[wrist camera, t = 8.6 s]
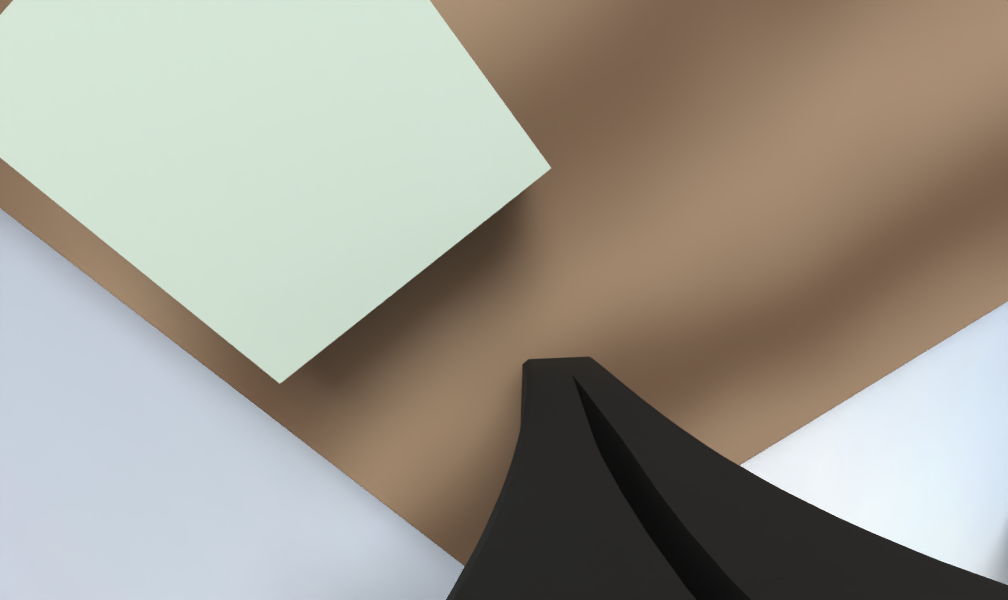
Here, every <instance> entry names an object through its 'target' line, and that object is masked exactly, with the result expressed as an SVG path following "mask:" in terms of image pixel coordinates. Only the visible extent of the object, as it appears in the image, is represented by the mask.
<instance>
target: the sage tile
mask: <svg viewBox="0 0 1008 600" xmlns="http://www.w3.org/2000/svg"><path fill="white" fill-rule="evenodd" d="M0 158H1V159H3V160H4V161H5V162H6V163H8V164H9V165H10V166H11V167H13V168H14V169H15V170H16V171H17V172H19V173H20V174H21V175H22V176H24V177H25V178H26V179H27V180H29V181H30V182H31V183H32V184H34V185H35V186H36V187H37V188H38V189H40V190H41V191H42V192H43V193H45V194H46V195H47V196H48V197H50V198H51V199H52V200H53V201H55V202H56V203H57V204H58V205H59V206H61V207H62V208H63V209H64V210H66V211H67V212H68V213H69V214H71V215H72V216H73V217H74V218H76V219H77V220H78V221H79V222H80V223H82V224H83V225H84V226H85V227H87V228H88V229H89V230H90V231H92V232H93V233H94V234H95V235H97V236H98V237H99V238H100V239H102V240H103V241H104V242H105V243H106V244H108V245H109V246H110V247H111V248H113V249H114V250H115V251H116V252H118V253H119V254H120V255H121V256H123V257H124V258H125V259H126V260H127V261H129V262H130V263H131V264H132V265H134V266H135V267H136V268H137V269H139V270H140V271H141V272H142V273H144V274H145V275H146V276H147V277H148V278H150V279H151V280H152V281H153V282H155V283H156V284H157V285H158V286H160V287H161V288H162V289H163V290H165V291H166V292H167V293H168V294H169V295H171V296H172V297H173V298H174V299H176V300H177V301H178V302H179V303H181V304H182V305H183V306H184V307H186V308H187V309H188V310H189V311H190V312H192V313H193V314H194V315H195V316H197V317H198V318H199V319H200V320H202V321H203V322H204V323H205V324H207V325H208V326H209V327H210V328H211V329H213V330H214V331H215V332H216V333H218V334H219V335H220V336H221V337H223V338H224V339H225V340H226V341H228V342H229V343H230V344H231V345H233V346H234V347H235V348H236V349H237V350H239V351H240V352H241V353H242V354H244V355H245V356H246V357H247V358H249V359H250V360H251V361H252V362H254V363H255V364H256V365H257V366H258V367H260V368H261V369H262V370H263V371H265V372H266V373H267V374H268V375H270V376H271V377H272V378H273V379H275V380H276V381H277V382H278V383H279V384H280V383H281V382H283V381H284V380H285V379H286V378H288V377H289V376H290V375H292V374H293V373H294V372H295V371H297V370H298V369H299V368H300V367H302V366H303V365H304V364H305V363H307V362H308V361H309V360H310V359H312V358H313V357H314V356H315V355H317V354H318V353H319V352H320V351H322V350H323V349H324V348H326V347H327V346H328V345H329V344H331V343H332V342H333V341H334V340H336V339H337V338H338V337H339V336H341V335H342V334H343V333H344V332H346V331H347V330H348V329H349V328H351V327H352V326H353V325H355V324H356V323H357V322H358V321H360V320H361V319H362V318H363V317H365V316H366V315H367V314H368V313H370V312H371V311H372V310H373V309H375V308H376V307H377V306H378V305H380V304H381V303H382V302H383V301H385V300H386V299H387V298H389V297H390V296H391V295H392V294H394V293H395V292H396V291H397V290H399V289H400V288H401V287H402V286H404V285H405V284H406V283H407V282H409V281H410V280H411V279H412V278H414V277H415V276H416V275H418V274H419V273H420V272H421V271H423V270H424V269H425V268H426V267H428V266H429V265H430V264H431V263H433V262H434V261H435V260H436V259H438V258H439V257H440V256H441V255H443V254H444V253H445V252H446V251H448V250H449V249H450V248H452V247H453V246H454V245H455V244H457V243H458V242H459V241H460V240H462V239H463V238H464V237H465V236H467V235H468V234H469V233H470V232H472V231H473V230H474V229H475V228H477V227H478V226H479V225H480V224H482V223H483V222H484V221H486V220H487V219H488V218H489V217H491V216H492V215H493V214H494V213H496V212H497V211H498V210H499V209H501V208H502V207H503V206H504V205H506V204H507V203H508V202H509V201H511V200H512V199H513V198H515V197H516V196H517V195H518V194H520V193H521V192H522V191H523V190H525V189H526V188H527V187H528V186H530V185H531V184H532V183H533V182H535V181H536V180H537V179H538V178H540V177H541V176H542V175H543V174H545V173H546V172H547V171H549V170H550V169H551V167H550V165H549V164H548V163H547V161H546V160H545V159H544V157H543V156H542V154H541V153H540V152H539V150H538V149H537V148H536V146H535V145H534V143H533V142H532V141H531V139H530V138H529V136H528V135H527V134H526V132H525V131H524V130H523V128H522V127H521V125H520V124H519V123H518V121H517V120H516V119H515V117H514V116H513V114H512V113H511V112H510V110H509V109H508V108H507V106H506V105H505V103H504V102H503V101H502V99H501V98H500V97H499V95H498V94H497V92H496V91H495V90H494V88H493V87H492V85H491V84H490V83H489V81H488V80H487V79H486V77H485V76H484V74H483V73H482V72H481V70H480V69H479V68H478V66H477V65H476V63H475V62H474V61H473V59H472V58H471V57H470V55H469V54H468V52H467V51H466V50H465V48H464V47H463V46H462V44H461V43H460V41H459V40H458V39H457V37H456V36H455V34H454V33H453V32H452V30H451V29H450V28H449V26H448V25H447V23H446V22H445V21H444V19H443V18H442V17H441V15H440V14H439V12H438V11H437V10H436V8H435V7H434V6H433V4H432V3H431V1H430V0H13V1H12V2H11V3H10V4H9V6H8V7H7V8H6V9H5V10H4V11H3V12H2V14H1V15H0Z"/></svg>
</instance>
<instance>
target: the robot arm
mask: <svg viewBox="0 0 1008 600" xmlns="http://www.w3.org/2000/svg"><path fill="white" fill-rule="evenodd" d="M446 600H1008V585H1005V584H1003V583H1000V582H997V581H994V580H992V579H989V578H986V577H983V576H980V575H978V574H975V573H972V572H969V571H967V570H964V569H961V568H958V567H956V566H953V565H950V564H947V563H944V562H942V561H939V560H937V559H934V558H931V557H929V556H926V555H924V554H922V553H919V552H917V551H914V550H912V549H910V548H907V547H905V546H902V545H900V544H898V543H895V542H893V541H890V540H888V539H886V538H883V537H881V536H878V535H876V534H874V533H871V532H869V531H867V530H865V529H862V528H860V527H858V526H856V525H854V524H851V523H849V522H847V521H845V520H842V519H840V518H838V517H836V516H834V515H832V514H830V513H828V512H826V511H824V510H822V509H820V508H818V507H816V506H814V505H811V504H809V503H807V502H805V501H803V500H801V499H799V498H797V497H795V496H793V495H791V494H789V493H787V492H785V491H784V490H782V489H780V488H778V487H776V486H774V485H772V484H770V483H769V482H767V481H765V480H763V479H761V478H760V477H758V476H756V475H754V474H753V473H751V472H749V471H748V470H746V469H744V468H743V467H741V466H739V465H737V464H736V463H734V462H732V461H731V460H729V459H727V458H726V457H724V456H722V455H721V454H719V453H718V452H716V451H714V450H713V449H711V448H710V447H708V446H707V445H705V444H704V443H702V442H701V441H699V440H698V439H696V438H695V437H694V436H692V435H691V434H689V433H688V432H686V431H685V430H683V429H682V428H680V427H679V426H678V425H676V424H675V423H673V422H672V421H671V420H669V419H668V418H667V417H665V416H664V415H663V414H661V413H660V412H659V411H657V410H656V409H655V408H653V407H652V406H651V405H650V404H648V403H647V402H646V401H644V400H643V399H642V398H641V397H639V396H638V395H637V394H636V393H634V392H633V391H632V390H631V389H629V388H628V387H627V386H626V385H625V384H623V383H622V382H621V381H620V380H618V379H617V378H616V377H615V376H614V375H612V374H611V373H610V372H609V371H608V370H606V369H605V368H604V367H603V366H602V365H600V364H599V363H598V362H597V361H595V360H594V359H593V358H591V357H590V356H589V357H565V358H541V359H528V360H527V361H526V362H525V363H523V364H522V394H521V424H520V433H519V437H518V440H517V444H516V448H515V452H514V455H513V459H512V462H511V465H510V468H509V471H508V474H507V476H506V479H505V482H504V484H503V487H502V490H501V492H500V495H499V497H498V500H497V502H496V504H495V507H494V509H493V511H492V513H491V516H490V518H489V520H488V523H487V525H486V527H485V529H484V531H483V533H482V535H481V537H480V539H479V541H478V543H477V545H476V547H475V549H474V551H473V553H472V554H471V556H470V558H469V560H468V562H467V563H466V565H465V567H464V569H463V571H462V573H461V574H460V576H459V578H458V580H457V582H456V583H455V585H454V587H453V589H452V591H451V592H450V594H449V596H448V597H447V599H446Z"/></svg>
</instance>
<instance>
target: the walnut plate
mask: <svg viewBox="0 0 1008 600" xmlns="http://www.w3.org/2000/svg"><path fill="white" fill-rule="evenodd" d="M12 1H13V0H0V15H1V14H2V12H3V11H4V10H5V9H6V8H7V7H8V6H9V4H10V3H11V2H12ZM430 1H431V3H432V4H433V6H434V7H435V8H436V10H437V11H438V12H439V14H440V15H441V17H442V18H443V19H444V21H445V22H446V23H447V25H448V26H449V28H450V29H451V30H452V32H453V33H454V34H455V36H456V37H457V39H458V40H459V41H460V43H461V44H462V46H463V47H464V48H465V50H466V51H467V52H468V54H469V55H470V57H471V58H472V59H473V61H474V62H475V63H476V65H477V66H478V68H479V69H480V70H481V72H482V73H483V74H484V76H485V77H486V79H487V80H488V81H489V83H490V84H491V85H492V87H493V88H494V90H495V91H496V92H497V94H498V95H499V97H500V98H501V99H502V101H503V102H504V103H505V105H506V106H507V108H508V109H509V110H510V112H511V113H512V114H513V116H514V117H515V119H516V120H517V121H518V123H519V124H520V125H521V127H522V128H523V130H524V131H525V132H526V134H527V135H528V136H529V138H530V139H531V141H532V142H533V143H534V145H535V146H536V148H537V149H538V150H539V152H540V153H541V154H542V156H543V157H544V159H545V160H546V161H547V163H548V164H549V165H550V167H551V169H550V170H549V171H547V172H546V173H545V174H543V175H542V176H541V177H540V178H538V179H537V180H536V181H535V182H533V183H532V184H531V185H530V186H528V187H527V188H526V189H525V190H523V191H522V192H521V193H520V194H518V195H517V196H516V197H515V198H513V199H512V200H511V201H509V202H508V203H507V204H506V205H504V206H503V207H502V208H501V209H499V210H498V211H497V212H496V213H494V214H493V215H492V216H491V217H489V218H488V219H487V220H486V221H484V222H483V223H482V224H480V225H479V226H478V227H477V228H475V229H474V230H473V231H472V232H470V233H469V234H468V235H467V236H465V237H464V238H463V239H462V240H460V241H459V242H458V243H457V244H455V245H454V246H453V247H452V248H450V249H449V250H448V251H446V252H445V253H444V254H443V255H441V256H440V257H439V258H438V259H436V260H435V261H434V262H433V263H431V264H430V265H429V266H428V267H426V268H425V269H424V270H423V271H421V272H420V273H419V274H418V275H416V276H415V277H414V278H412V279H411V280H410V281H409V282H407V283H406V284H405V285H404V286H402V287H401V288H400V289H399V290H397V291H396V292H395V293H394V294H392V295H391V296H390V297H389V298H387V299H386V300H385V301H383V302H382V303H381V304H380V305H378V306H377V307H376V308H375V309H373V310H372V311H371V312H370V313H368V314H367V315H366V316H365V317H363V318H362V319H361V320H360V321H358V322H357V323H356V324H355V325H353V326H352V327H351V328H349V329H348V330H347V331H346V332H344V333H343V334H342V335H341V336H339V337H338V338H337V339H336V340H334V341H333V342H332V343H331V344H329V345H328V346H327V347H326V348H324V349H323V350H322V351H320V352H319V353H318V354H317V355H315V356H314V357H313V358H312V359H310V360H309V361H308V362H307V363H305V364H304V365H303V366H302V367H300V368H299V369H298V370H297V371H295V372H294V373H293V374H292V375H290V376H289V377H288V378H286V379H285V380H284V381H283V382H281V383H280V384H279V383H278V382H277V381H276V380H275V379H273V378H272V377H271V376H270V375H268V374H267V373H266V372H265V371H263V370H262V369H261V368H260V367H258V366H257V365H256V364H255V363H254V362H252V361H251V360H250V359H249V358H247V357H246V356H245V355H244V354H242V353H241V352H240V351H239V350H237V349H236V348H235V347H234V346H233V345H231V344H230V343H229V342H228V341H226V340H225V339H224V338H223V337H221V336H220V335H219V334H218V333H216V332H215V331H214V330H213V329H211V328H210V327H209V326H208V325H207V324H205V323H204V322H203V321H202V320H200V319H199V318H198V317H197V316H195V315H194V314H193V313H192V312H190V311H189V310H188V309H187V308H186V307H184V306H183V305H182V304H181V303H179V302H178V301H177V300H176V299H174V298H173V297H172V296H171V295H169V294H168V293H167V292H166V291H165V290H163V289H162V288H161V287H160V286H158V285H157V284H156V283H155V282H153V281H152V280H151V279H150V278H148V277H147V276H146V275H145V274H144V273H142V272H141V271H140V270H139V269H137V268H136V267H135V266H134V265H132V264H131V263H130V262H129V261H127V260H126V259H125V258H124V257H123V256H121V255H120V254H119V253H118V252H116V251H115V250H114V249H113V248H111V247H110V246H109V245H108V244H106V243H105V242H104V241H103V240H102V239H100V238H99V237H98V236H97V235H95V234H94V233H93V232H92V231H90V230H89V229H88V228H87V227H85V226H84V225H83V224H82V223H80V222H79V221H78V220H77V219H76V218H74V217H73V216H72V215H71V214H69V213H68V212H67V211H66V210H64V209H63V208H62V207H61V206H59V205H58V204H57V203H56V202H55V201H53V200H52V199H51V198H50V197H48V196H47V195H46V194H45V193H43V192H42V191H41V190H40V189H38V188H37V187H36V186H35V185H34V184H32V183H31V182H30V181H29V180H27V179H26V178H25V177H24V176H22V175H21V174H20V173H19V172H17V171H16V170H15V169H14V168H13V167H11V166H10V165H9V164H8V163H6V162H5V161H4V160H3V159H1V158H0V208H1V209H2V210H4V211H5V212H6V213H7V214H9V215H10V216H11V217H13V218H14V219H15V220H17V221H18V222H19V223H20V224H22V225H23V226H24V227H26V228H27V229H28V230H30V231H31V232H32V233H33V234H35V235H36V236H37V237H39V238H40V239H41V240H43V241H44V242H45V243H46V244H48V245H49V246H50V247H52V248H53V249H54V250H55V251H57V252H58V253H59V254H61V255H62V256H63V257H65V258H66V259H67V260H68V261H70V262H71V263H72V264H74V265H75V266H76V267H78V268H79V269H80V270H81V271H83V272H84V273H85V274H87V275H88V276H89V277H91V278H92V279H93V280H94V281H96V282H97V283H98V284H100V285H101V286H102V287H103V288H105V289H106V290H107V291H109V292H110V293H111V294H113V295H114V296H115V297H116V298H118V299H119V300H120V301H122V302H123V303H124V304H126V305H127V306H128V307H129V308H131V309H132V310H133V311H135V312H136V313H137V314H139V315H140V316H141V317H142V318H144V319H145V320H146V321H148V322H149V323H150V324H151V325H153V326H154V327H155V328H157V329H158V330H159V331H161V332H162V333H163V334H164V335H166V336H167V337H168V338H170V339H171V340H172V341H174V342H175V343H176V344H177V345H179V346H180V347H181V348H183V349H184V350H185V351H187V352H188V353H189V354H190V355H192V356H193V357H194V358H196V359H197V360H198V361H199V362H201V363H202V364H203V365H205V366H206V367H207V368H209V369H210V370H211V371H212V372H214V373H215V374H216V375H218V376H219V377H220V378H222V379H223V380H224V381H225V382H227V383H228V384H229V385H231V386H232V387H233V388H234V389H236V390H237V391H238V392H240V393H241V394H242V395H244V396H245V397H246V398H247V399H249V400H250V401H251V402H253V403H254V404H255V405H257V406H258V407H259V408H260V409H262V410H263V411H264V412H266V413H267V414H268V415H270V416H271V417H272V418H273V419H275V420H276V421H277V422H279V423H280V424H281V425H282V426H284V427H285V428H286V429H288V430H289V431H290V432H292V433H293V434H294V435H295V436H297V437H298V438H299V439H301V440H302V441H303V442H305V443H306V444H307V445H308V446H310V447H311V448H312V449H314V450H315V451H316V452H318V453H319V454H320V455H321V456H323V457H324V458H325V459H327V460H328V461H329V462H330V463H332V464H333V465H334V466H336V467H337V468H338V469H340V470H341V471H342V472H343V473H345V474H346V475H347V476H349V477H350V478H351V479H353V480H354V481H355V482H356V483H358V484H359V485H360V486H362V487H363V488H364V489H366V490H367V491H368V492H369V493H371V494H372V495H373V496H375V497H376V498H377V499H378V500H380V501H381V502H382V503H384V504H385V505H386V506H388V507H389V508H390V509H391V510H393V511H394V512H395V513H397V514H398V515H399V516H401V517H402V518H403V519H404V520H406V521H407V522H408V523H410V524H411V525H412V526H414V527H415V528H416V529H417V530H419V531H420V532H421V533H423V534H424V535H425V536H426V537H428V538H429V539H430V540H432V541H433V542H434V543H436V544H437V545H438V546H439V547H441V548H442V549H443V550H445V551H446V552H447V553H449V554H450V555H451V556H452V557H454V558H455V559H456V560H458V561H459V562H460V563H462V564H463V565H464V566H465V565H466V563H467V562H468V560H469V558H470V556H471V554H472V553H473V551H474V549H475V547H476V545H477V543H478V541H479V539H480V537H481V535H482V533H483V531H484V529H485V527H486V525H487V523H488V520H489V518H490V516H491V513H492V511H493V509H494V507H495V504H496V502H497V500H498V497H499V495H500V492H501V490H502V487H503V484H504V482H505V479H506V476H507V474H508V471H509V468H510V465H511V462H512V459H513V455H514V452H515V448H516V444H517V440H518V437H519V433H520V424H521V394H522V364H523V363H525V362H526V361H527V360H528V359H541V358H565V357H589V356H590V357H591V358H593V359H594V360H595V361H597V362H598V363H599V364H600V365H602V366H603V367H604V368H605V369H606V370H608V371H609V372H610V373H611V374H612V375H614V376H615V377H616V378H617V379H618V380H620V381H621V382H622V383H623V384H625V385H626V386H627V387H628V388H629V389H631V390H632V391H633V392H634V393H636V394H637V395H638V396H639V397H641V398H642V399H643V400H644V401H646V402H647V403H648V404H650V405H651V406H652V407H653V408H655V409H656V410H657V411H659V412H660V413H661V414H663V415H664V416H665V417H667V418H668V419H669V420H671V421H672V422H673V423H675V424H676V425H678V426H679V427H680V428H682V429H683V430H685V431H686V432H688V433H689V434H691V435H692V436H694V437H695V438H696V439H698V440H699V441H701V442H702V443H704V444H705V445H707V446H708V447H710V448H711V449H713V450H714V451H716V452H718V453H719V454H721V455H722V456H724V457H726V458H727V459H729V460H731V461H732V462H734V463H736V464H737V465H741V464H742V463H744V462H746V461H747V460H749V459H751V458H752V457H754V456H756V455H757V454H759V453H760V452H762V451H764V450H765V449H767V448H769V447H770V446H772V445H774V444H775V443H777V442H778V441H780V440H782V439H783V438H785V437H787V436H788V435H790V434H792V433H793V432H795V431H796V430H798V429H800V428H801V427H803V426H805V425H806V424H808V423H810V422H811V421H813V420H814V419H816V418H818V417H819V416H821V415H823V414H824V413H826V412H827V411H829V410H831V409H832V408H834V407H836V406H837V405H839V404H841V403H842V402H844V401H845V400H847V399H849V398H850V397H852V396H854V395H855V394H857V393H859V392H860V391H862V390H863V389H865V388H867V387H868V386H870V385H872V384H873V383H875V382H877V381H878V380H880V379H881V378H883V377H885V376H886V375H888V374H890V373H891V372H893V371H895V370H896V369H898V368H899V367H901V366H903V365H904V364H906V363H908V362H909V361H911V360H912V359H914V358H916V357H917V356H919V355H921V354H922V353H924V352H926V351H927V350H929V349H930V348H932V347H934V346H935V345H937V344H939V343H940V342H942V341H944V340H945V339H947V338H948V337H950V336H952V335H953V334H955V333H957V332H958V331H960V330H962V329H963V328H965V327H966V326H968V325H970V324H971V323H973V322H975V321H976V320H978V319H980V318H981V317H983V316H984V315H986V314H988V313H989V312H991V311H993V310H994V309H996V308H997V307H999V306H1001V305H1002V304H1004V303H1006V302H1007V301H1008V0H430Z"/></svg>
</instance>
